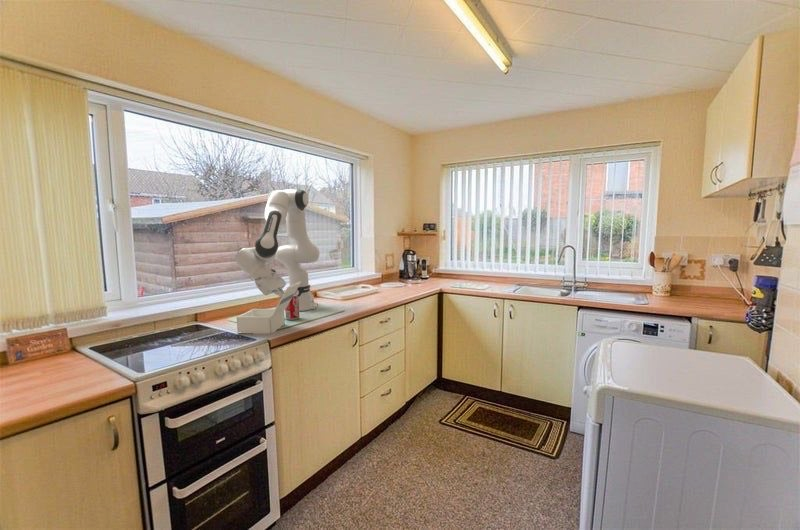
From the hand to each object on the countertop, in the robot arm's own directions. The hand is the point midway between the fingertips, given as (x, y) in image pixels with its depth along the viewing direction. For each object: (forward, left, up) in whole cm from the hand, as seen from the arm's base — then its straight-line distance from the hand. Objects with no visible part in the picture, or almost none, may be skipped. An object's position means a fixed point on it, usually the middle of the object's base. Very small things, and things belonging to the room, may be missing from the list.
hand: (284, 296), depth 166 cm
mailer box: (0, -12, -16) cm, 20 cm away
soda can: (-19, -4, -16) cm, 25 cm away
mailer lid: (0, +1, -1) cm, 1 cm away
